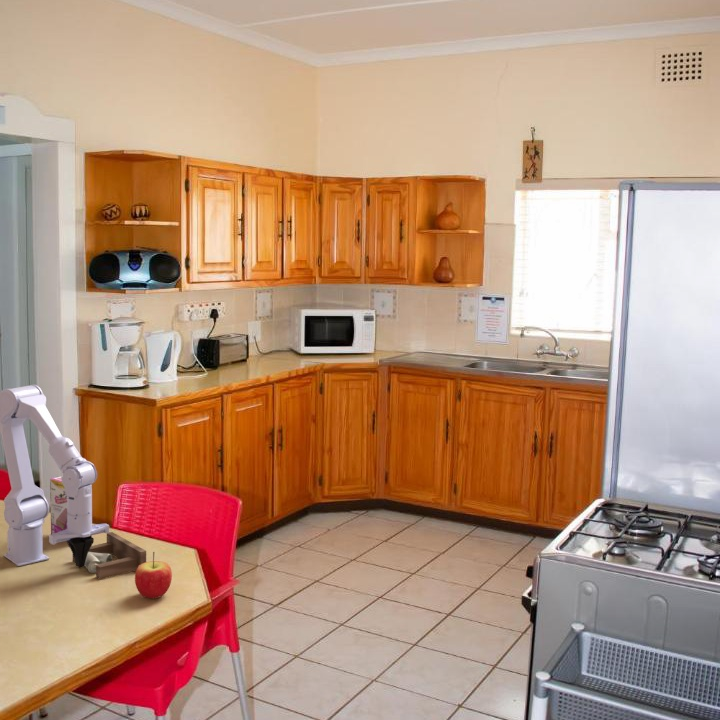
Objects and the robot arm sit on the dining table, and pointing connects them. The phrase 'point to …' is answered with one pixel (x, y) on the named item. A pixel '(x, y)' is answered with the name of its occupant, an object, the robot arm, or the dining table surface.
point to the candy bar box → (58, 505)
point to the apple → (153, 578)
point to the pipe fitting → (96, 560)
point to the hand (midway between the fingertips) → (80, 566)
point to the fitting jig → (118, 556)
